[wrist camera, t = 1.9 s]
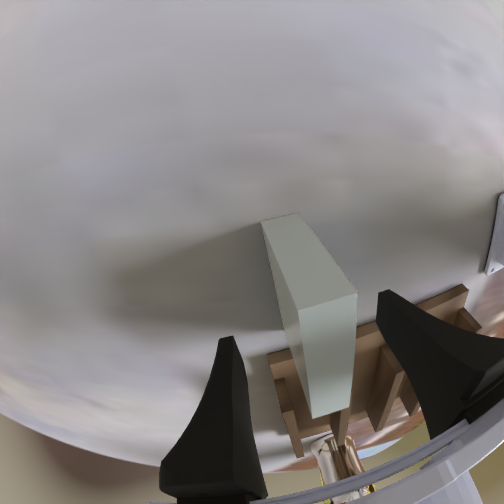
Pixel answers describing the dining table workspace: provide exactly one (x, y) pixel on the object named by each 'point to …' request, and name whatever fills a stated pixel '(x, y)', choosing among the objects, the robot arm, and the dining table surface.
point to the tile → (314, 312)
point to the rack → (363, 377)
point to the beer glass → (339, 465)
